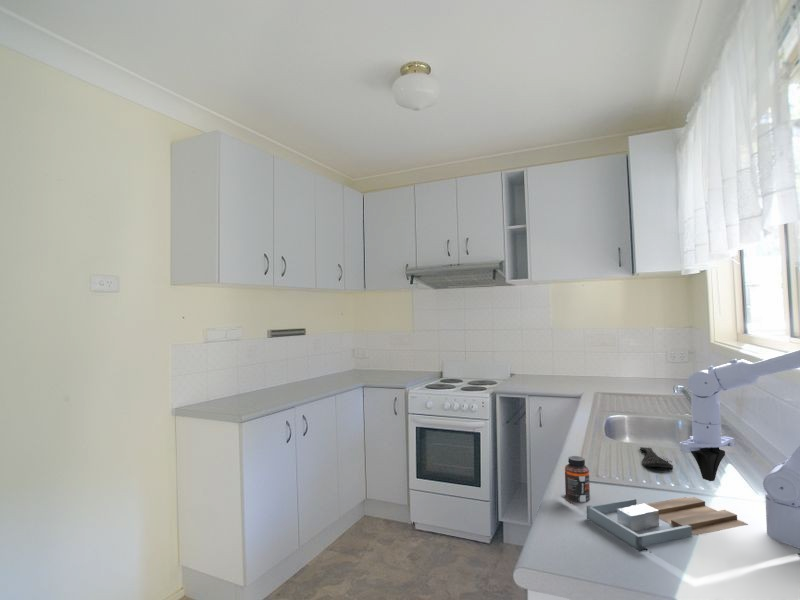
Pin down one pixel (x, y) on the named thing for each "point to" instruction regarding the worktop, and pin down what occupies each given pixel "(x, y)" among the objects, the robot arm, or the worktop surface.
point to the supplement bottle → (577, 480)
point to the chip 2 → (649, 515)
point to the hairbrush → (654, 459)
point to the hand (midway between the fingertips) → (708, 479)
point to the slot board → (695, 515)
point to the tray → (627, 535)
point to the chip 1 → (631, 518)
